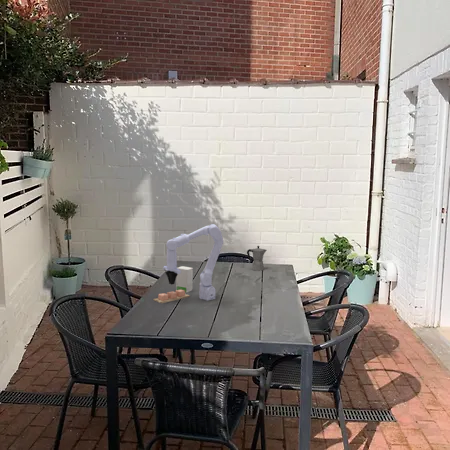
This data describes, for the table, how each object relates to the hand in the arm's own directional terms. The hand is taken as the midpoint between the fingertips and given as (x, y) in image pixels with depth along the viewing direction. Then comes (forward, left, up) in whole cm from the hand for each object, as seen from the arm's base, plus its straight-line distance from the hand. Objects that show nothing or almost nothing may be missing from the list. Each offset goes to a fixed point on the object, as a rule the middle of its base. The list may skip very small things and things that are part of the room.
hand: (171, 283), depth 274 cm
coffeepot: (+24, -95, -10) cm, 99 cm away
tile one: (0, -6, -9) cm, 10 cm away
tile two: (0, 0, -9) cm, 9 cm away
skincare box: (+9, -16, -10) cm, 21 cm away
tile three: (0, +6, -9) cm, 10 cm away
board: (0, 0, -10) cm, 10 cm away
